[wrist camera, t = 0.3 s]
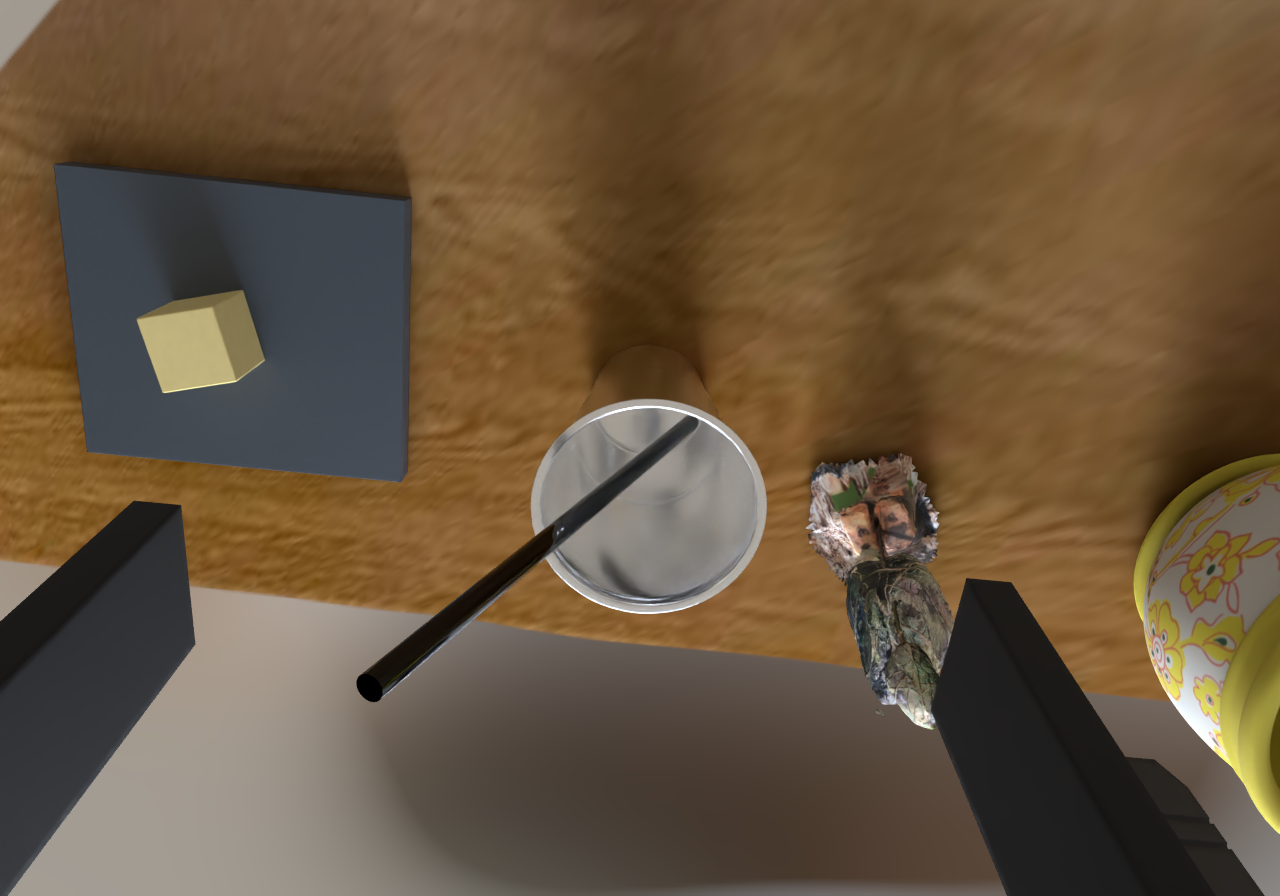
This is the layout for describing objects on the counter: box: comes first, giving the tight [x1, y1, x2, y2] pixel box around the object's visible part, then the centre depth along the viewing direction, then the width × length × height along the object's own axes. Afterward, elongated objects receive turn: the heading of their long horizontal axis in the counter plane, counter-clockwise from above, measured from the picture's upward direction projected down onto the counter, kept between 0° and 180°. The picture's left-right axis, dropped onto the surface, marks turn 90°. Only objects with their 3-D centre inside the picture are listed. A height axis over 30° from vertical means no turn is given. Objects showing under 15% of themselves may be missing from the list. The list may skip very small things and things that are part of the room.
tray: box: [54, 162, 412, 482], centre depth 53 cm, size 16×18×2 cm
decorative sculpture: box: [806, 452, 954, 729], centre depth 49 cm, size 8×11×20 cm
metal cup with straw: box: [357, 345, 767, 702], centre depth 41 cm, size 11×11×30 cm
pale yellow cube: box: [137, 290, 265, 393], centre depth 50 cm, size 4×4×4 cm
